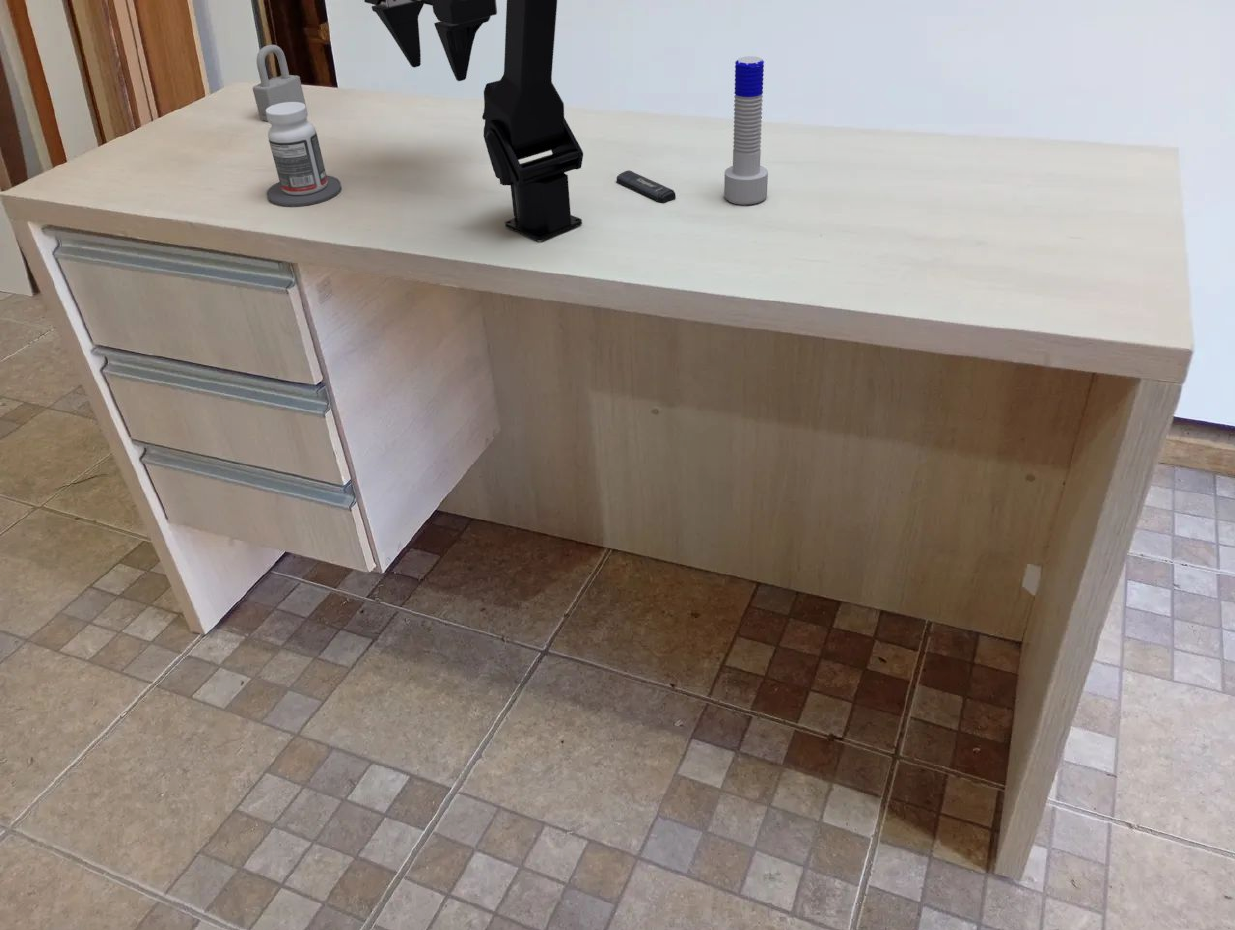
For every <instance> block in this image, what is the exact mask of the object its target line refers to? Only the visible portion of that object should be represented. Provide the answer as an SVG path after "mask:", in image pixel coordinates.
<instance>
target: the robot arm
mask: <svg viewBox="0 0 1235 930" xmlns="http://www.w3.org/2000/svg"><path fill="white" fill-rule="evenodd" d="M363 2H364V3H366V4H371V5H372V6H371V11H372V12H374V13H376V15H377V16H378V17H379V19H380V20H381V22H382V24H383V25H384V26H385V27H386V29H387V31H388V32H389V34H390V35H391V37H392V38H393V39H394V42H396V44H397V46H398V47H399V49H400V50H401V52H402V54H403V55H404V57H405V58H406V60H407V62H408V63H409V64H410V66H411V67H412V68H418V67H420V66H421V63H422V61H421V59H422V58H421V54H422V53H421V42H420V27H419V16H420V13H421V11H422V9H423V7H424V5H428V6H432V11H433V14H434V16H435V17H436V19H437V21H436V22H434V27H435V29H436V32H437V35H438V37H439V40H440V43H441V45H442V48H443V50H444V53H445V56H446V58H447V61H448V63H449V66H450V69H451V71H452V73H453V75H454V78H455V80H456V81H457V82H462V81H465V80H466V79H467V75H468V69H469V65H470V59H471V55H472V54H471V52H472V50H473V49H472V48H473V44H474V40H475V37H476V34H477V32H478V31H479V29H480V27H482V25H483V24H485V23H488V22H489V21H490V20H491V16H496V15H497V14H498V8H497V6H498V5H497V0H363ZM557 8H558V0H506V9H505V10H506V13H505V36H504V37H505V39H504V64H503V65H504V66H503V75H502V76H501V78H500V79H499V80H495V81H492V82H488V83H486V84H485V87H484V89H483V99H484V101H483V102H484V105H483V106H484V108H483V113H482V117H481V119H482V120H483V121H484V126H483V138H484V139H483V140H484V142H485V143H484V144H485V146H486V149H487V153H488V156H489V159H490V163H491V167H492V170H493V172H494V175H495V178H496V179H498V180H499V185H502V186H510V190H511V191H510V192H511V200H512V209H513V210H512V211H513V212H512V213H513V215H514V217H513V218H511V219H508V220H505V221H504V226H505V227H506V228H508V229H510V230H512V231H514V232H517V233H518V234H522V235H524V236H526V237H529V238H531V239H533V240H535V241H537V242H538V241H539V242H540V241H544V240H546V239H549V238H552V237H555V236H557V235H559V234H562V233H563V232H566V231H569V230H571V229H573V228H575V227H578V226H580V225H582V224H583V219H582V218H580V217H577V216H575V215H573V214H572V213H571V200H570V191H569V189H570V188H569V175H568V174H567V172H570V171H573V170H579V169H582V164H583V157H584V152H583V149H582V147H581V146H580V144H579V142H578V140H577V138H576V136H575V135H574V133H573V131H572V129H571V128H570V125H569V124H568V122H567V120H566V118H565V103H564V101H563V99H562V97H561V96H560V94H559V92H558V90H557V89H556V86H555V85H554V84H553V81H552V79H553V78H552V77H553V76H552V75H553V63H554V61H553V60H554V51H555V37H556V36H555V35H556V24H557V23H556V22H557V11H558V9H557ZM546 152H551V154H548V155H544V156H541V157H538V158H535V159H532V160H528V161H526V162H522V163H520V160H524V159H527V158H530V157H533V156H537V155H540V154H543V153H546Z"/></svg>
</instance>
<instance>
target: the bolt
mask: <svg viewBox="0 0 1235 930" xmlns="http://www.w3.org/2000/svg"><path fill="white" fill-rule="evenodd" d="M734 62H735V63H734V64H735V66H734V68H735V69H734V104H733V107H734V109H733V111H734V113H733V115H734V116H733V137H732V138H733V141H732V142H733V146H732V147H733V149H732V165H731V166H729V167H726V169H725V170H724V177H723V178H724V185H723V187H724V189H723V191H724V192H723V195H724V198H725V199H726V201H728V202H730V203H732V204H735V205H741V206H742V205H744V206H749V205H750V206H751V205H757V204H759V203H761V202H764V200H765V199H766V198H767V196H768V185H769V184H768V182H769V181H768V178H769V170H768V169H767V168H766V167H764V166H762V165H761V156H762V155H761V153H762V150H761V147H762V145H761V144H762V141H761V140H762V122H763V121H762V119H763V116H762V115H763V112H762V111H763V101H764V100H763V97H764V96H763V93H764V90H763V89H764V71H765V70H764V69H765V68H764V67H765V61H764V60H763V58H761V57H758V56H743V57H739V58H738V59H737V60H736V61H734Z"/></svg>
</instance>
